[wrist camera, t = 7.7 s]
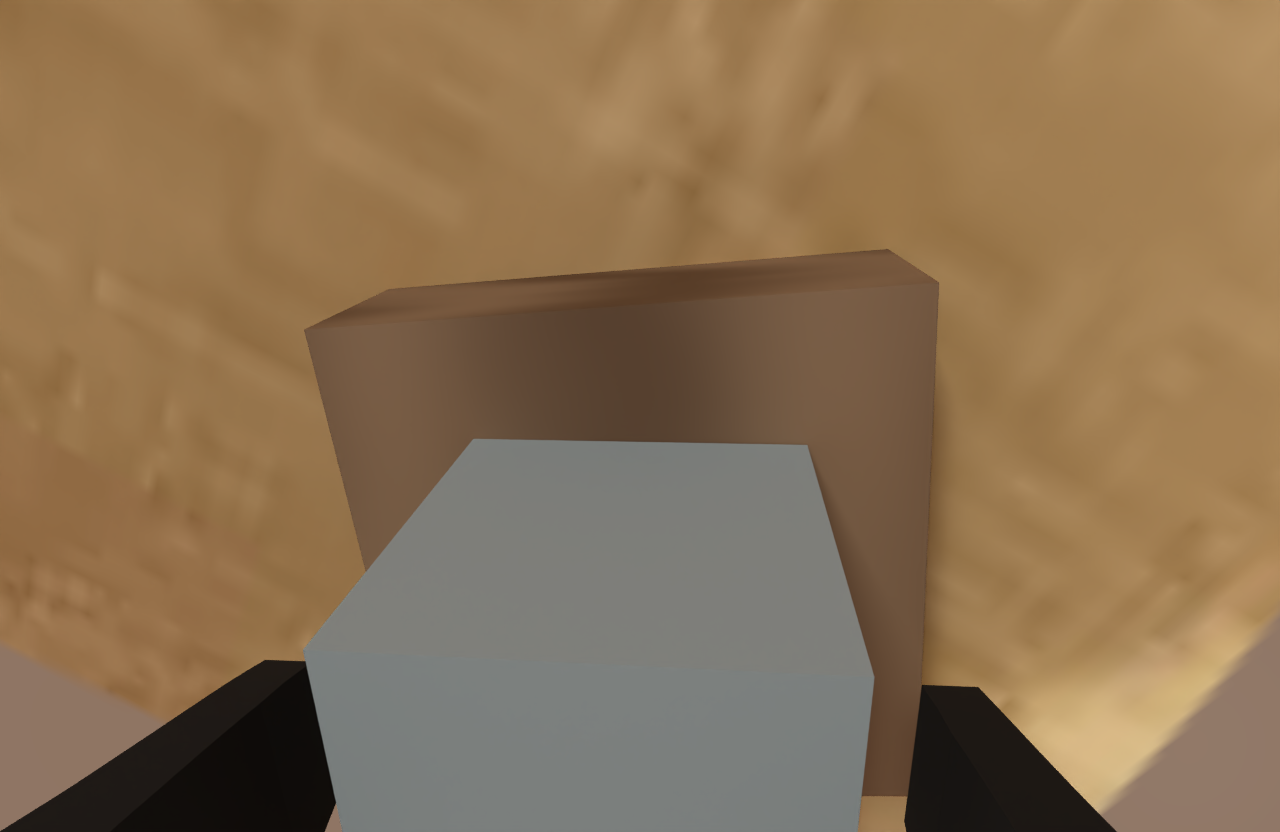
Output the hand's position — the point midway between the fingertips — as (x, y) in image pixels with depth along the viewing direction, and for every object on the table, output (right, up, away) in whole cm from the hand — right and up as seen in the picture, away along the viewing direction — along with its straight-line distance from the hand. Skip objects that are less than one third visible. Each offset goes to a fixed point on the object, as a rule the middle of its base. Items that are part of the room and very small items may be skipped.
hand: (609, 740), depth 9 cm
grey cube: (0, +1, +3) cm, 3 cm away
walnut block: (+1, +2, +6) cm, 7 cm away
